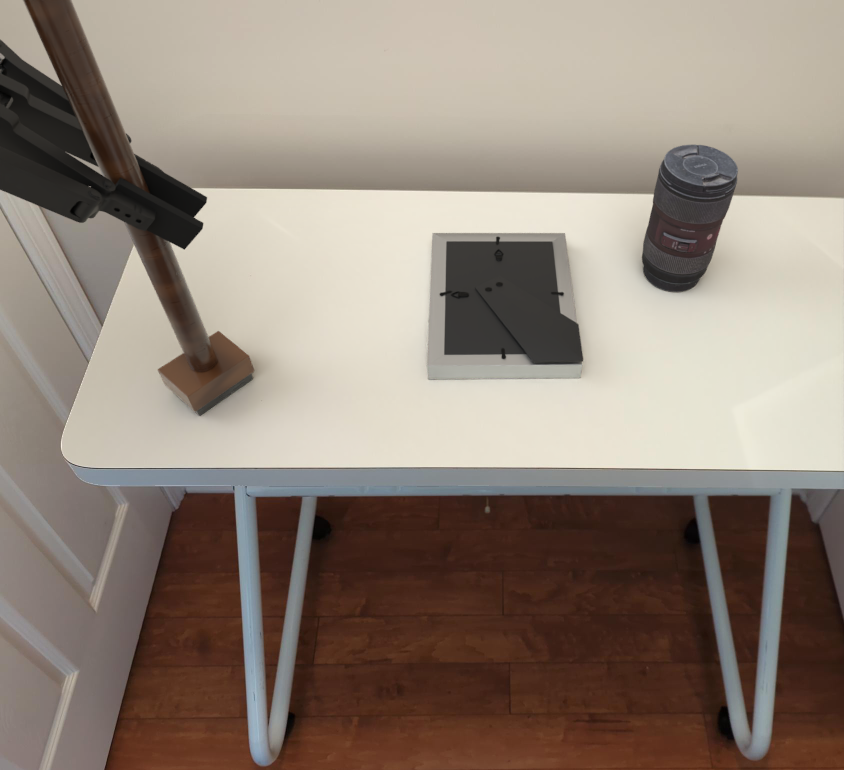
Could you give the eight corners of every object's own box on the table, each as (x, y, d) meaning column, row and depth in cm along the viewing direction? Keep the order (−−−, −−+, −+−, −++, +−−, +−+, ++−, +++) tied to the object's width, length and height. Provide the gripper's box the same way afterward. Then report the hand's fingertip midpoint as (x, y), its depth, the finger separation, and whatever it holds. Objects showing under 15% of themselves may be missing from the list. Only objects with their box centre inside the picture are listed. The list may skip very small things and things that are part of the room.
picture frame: (580, 378, 78) (563, 246, 91) (583, 360, 76) (565, 227, 89) (428, 379, 77) (433, 246, 90) (426, 361, 75) (432, 227, 88)
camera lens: (720, 282, 88) (757, 173, 76) (665, 305, 85) (694, 196, 74) (677, 242, 92) (706, 133, 81) (624, 263, 89) (645, 153, 78)
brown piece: (198, 419, 73) (-8, -8, 42) (168, 392, 75) (-50, -35, 44) (257, 378, 76) (107, -45, 45) (227, 354, 78) (64, -68, 47)
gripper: (-141, 11, 52) (182, 193, 67) (-245, 139, 42) (159, 318, 57) (-103, -75, 49) (228, 137, 64) (-207, 42, 39) (213, 259, 54)
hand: (195, 222), depth 61 cm, fingers closed on brown piece, 3 cm apart
